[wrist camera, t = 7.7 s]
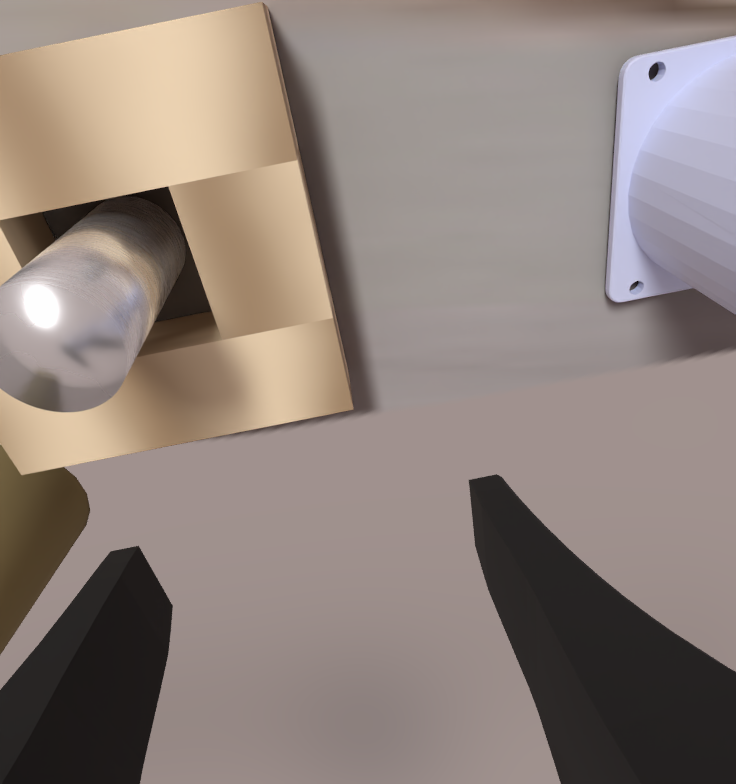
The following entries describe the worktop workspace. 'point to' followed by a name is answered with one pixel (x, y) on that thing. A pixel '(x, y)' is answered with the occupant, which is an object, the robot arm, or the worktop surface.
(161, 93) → the oak frame
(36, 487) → the cork
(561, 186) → the worktop surface
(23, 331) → the long pin
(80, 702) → the robot arm
